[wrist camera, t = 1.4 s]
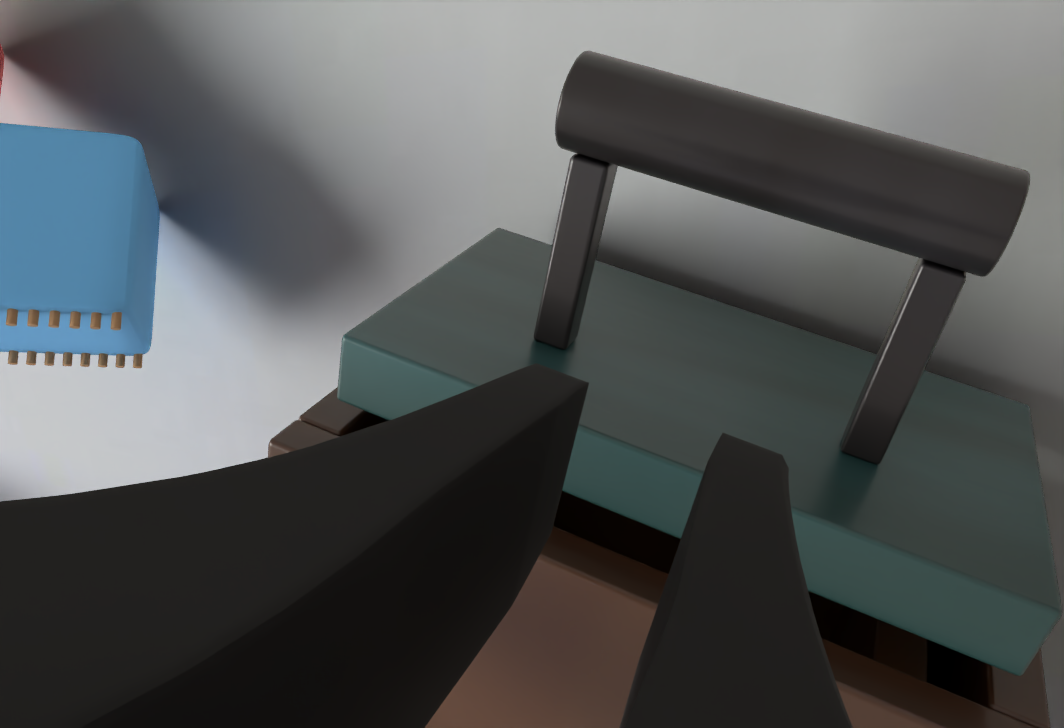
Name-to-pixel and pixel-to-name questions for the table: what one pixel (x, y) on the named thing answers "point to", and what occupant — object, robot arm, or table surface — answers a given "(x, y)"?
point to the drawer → (759, 365)
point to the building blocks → (75, 245)
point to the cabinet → (621, 630)
